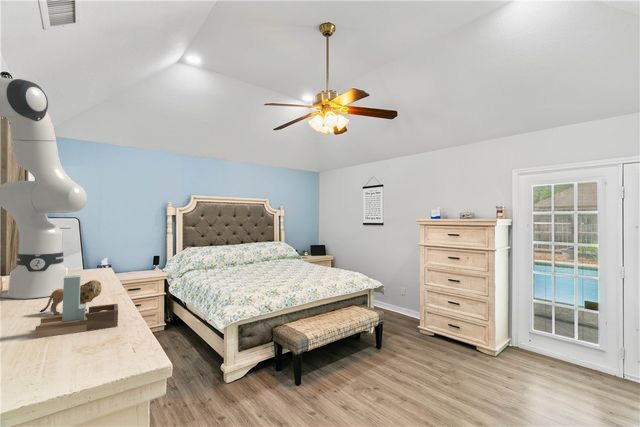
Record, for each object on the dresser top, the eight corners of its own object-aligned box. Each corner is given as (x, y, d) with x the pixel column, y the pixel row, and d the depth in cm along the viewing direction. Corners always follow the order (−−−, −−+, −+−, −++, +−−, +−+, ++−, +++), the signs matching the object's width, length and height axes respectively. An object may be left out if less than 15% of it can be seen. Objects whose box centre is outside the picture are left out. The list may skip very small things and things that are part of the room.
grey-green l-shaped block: (64, 320, 76) (65, 275, 76) (85, 317, 78) (87, 274, 78) (61, 325, 72) (63, 278, 72) (84, 322, 74) (85, 277, 75)
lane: (40, 328, 74) (41, 318, 74) (88, 322, 79) (88, 312, 79) (35, 338, 69) (35, 326, 69) (86, 330, 74) (87, 320, 74)
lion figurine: (104, 308, 92) (105, 278, 92) (96, 313, 87) (97, 281, 87) (44, 311, 88) (45, 279, 88) (33, 317, 82) (34, 283, 83)
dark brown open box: (88, 322, 80) (89, 306, 80) (117, 318, 83) (117, 303, 83) (86, 330, 74) (87, 314, 74) (117, 326, 77) (118, 310, 77)
